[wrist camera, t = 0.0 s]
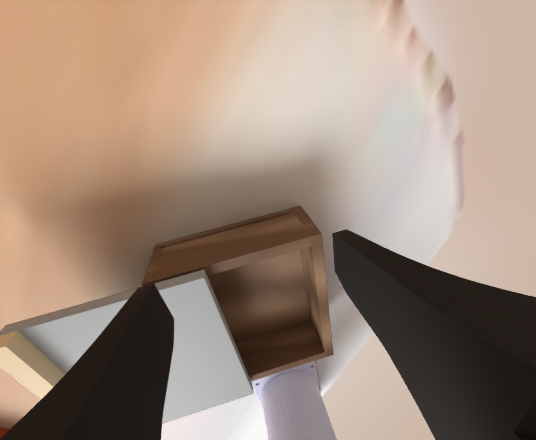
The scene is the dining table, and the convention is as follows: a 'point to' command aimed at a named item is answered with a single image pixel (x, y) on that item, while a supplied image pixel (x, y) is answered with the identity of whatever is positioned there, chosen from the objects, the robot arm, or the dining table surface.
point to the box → (260, 286)
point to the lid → (100, 315)
